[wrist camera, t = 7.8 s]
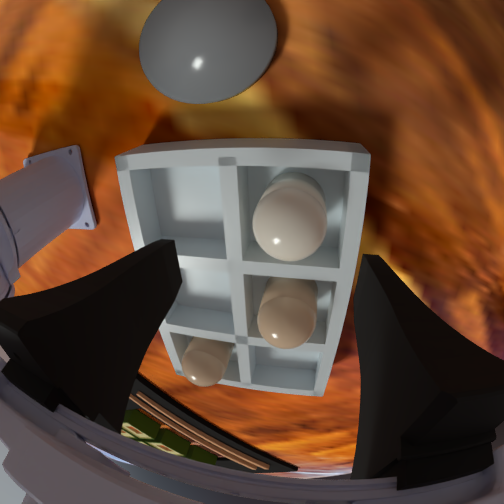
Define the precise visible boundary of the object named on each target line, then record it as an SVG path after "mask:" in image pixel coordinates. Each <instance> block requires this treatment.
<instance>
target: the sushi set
mask: <svg viewBox="0 0 504 504" xmlns="http://www.w3.org/2000/svg"><path fill="white" fill-rule="evenodd" d="M139 408H141V409H143V410H144V411H146V412H147V413H149V414H150V415H152V416H153V417H155V418H156V419H158V420H160V421H161V422H163V423H164V424H166V425H168V426H169V427H171V428H172V429H174V430H176V431H178V432H179V433H181V434H183V435H184V436H186V437H188V438H190V439H192V440H193V441H195V442H197V443H199V444H201V445H203V446H205V447H206V448H208V449H210V450H212V451H214V452H216V453H218V454H220V455H222V456H224V457H218V456H216V455H214V454H212V453H210V452H208V451H206V450H204V449H202V448H200V447H198V446H196V445H190V444H191V442H189V441H187V440H185V439H183V438H182V437H180V436H178V435H176V434H175V433H173V432H171V431H170V430H168V429H166V428H165V429H160V427H161V425H160V424H158V423H157V422H155V421H154V420H152V419H150V418H149V417H147V416H146V415H144V414H143V413H141V412H140V411H139V410H137V409H139ZM121 435H123V436H125V437H127V438H130V439H132V440H135V441H137V442H140V443H142V444H145V445H148V446H151V447H153V448H156V449H159V450H162V451H165V452H168V453H171V454H174V455H177V456H181V457H184V458H188V459H191V460H195V461H198V462H202V463H206V464H210V465H215V466H219V467H223V468H228V469H233V470H238V471H244V472H250V473H274V472H291V471H297V470H298V467H295V466H293V465H290V464H288V463H286V462H283V461H281V460H279V459H277V458H275V457H272V456H270V455H268V454H266V453H264V452H262V451H260V450H258V449H256V448H254V447H252V446H250V445H248V444H246V443H244V442H242V441H240V440H238V439H237V438H235V437H233V436H231V435H229V434H228V433H226V432H224V431H222V430H221V429H219V428H217V427H215V426H214V425H212V424H210V423H209V422H207V421H205V420H204V419H202V418H201V417H199V416H197V415H196V414H194V413H193V412H191V411H190V410H188V409H187V408H185V407H183V406H182V405H181V404H179V403H178V402H176V401H175V400H173V399H172V398H170V397H169V396H167V395H166V394H165V393H163V392H162V391H160V390H159V389H158V388H156V387H155V386H154V385H152V384H151V383H150V382H148V381H147V380H146V379H144V378H143V377H142V376H141V375H139V374H138V373H137V376H136V379H135V381H134V384H133V387H132V390H131V394H130V397H129V400H128V404H127V407H126V412H125V416H124V420H123V425H122V430H121Z"/></svg>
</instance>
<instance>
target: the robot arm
mask: <svg viewBox="0 0 504 504" xmlns="http://www.w3.org/2000/svg"><path fill="white" fill-rule="evenodd" d="M71 150H72V152H71ZM23 164H24V168H22V169H20V170H18V171H16V172H14V173H12V174H10V175H8V176H6V177H5V178H3V179H1V180H0V345H1V347H2V348H3V349H4V351H5V352H6V354H7V355H8V356H9V358H11V359H10V360H9V361H8V363H6V362H5V361H4V360H3V359H2V358H1V357H0V440H1V441H2V442H3V443H4V445H5V446H6V447H7V448H8V449H9V452H8V454H7V456H6V458H5V460H4V462H3V464H2V465H3V467H4V470H5V472H6V473H7V474H8V475H9V476H10V477H11V479H12V480H13V481H14V482H15V483H16V484H17V485H18V486H19V487H20V488H22V489H23V490H24V491H25V492H26V496H25V498H24V500H23V502H22V504H204V503H201V502H197V501H194V500H191V499H188V498H184V497H181V496H178V495H175V494H172V493H169V492H167V491H164V490H161V489H159V488H156V487H153V486H151V485H148V484H146V483H143V482H141V481H138V480H136V479H134V478H131V477H129V476H130V473H129V472H128V471H126V470H124V469H123V468H121V467H120V466H118V465H116V464H115V463H114V462H112V461H111V460H109V459H108V458H107V457H105V456H104V455H103V454H102V453H101V452H100V451H98V450H96V449H95V448H93V447H91V446H90V445H88V444H86V442H88V443H90V444H92V445H94V446H95V447H97V448H99V449H101V450H103V451H105V452H107V453H109V454H111V455H114V456H116V457H118V458H120V459H122V460H124V461H127V462H129V463H131V464H134V465H136V466H139V467H141V468H144V469H146V470H149V471H151V472H154V473H157V474H159V475H162V476H165V477H168V478H171V479H174V480H177V481H180V482H183V483H187V484H190V485H194V486H197V487H201V488H205V489H210V490H213V491H217V492H221V493H226V494H231V495H236V496H241V497H247V498H253V499H259V500H267V501H275V502H284V503H296V504H504V445H502V446H499V447H498V448H496V449H494V450H492V445H491V442H493V441H494V440H495V439H496V433H495V428H496V427H497V426H498V425H499V424H501V423H502V422H503V421H504V360H502V359H500V358H498V357H496V356H494V355H492V354H491V353H489V352H487V351H486V350H484V349H482V348H481V347H479V346H477V345H476V344H474V343H473V342H471V341H470V340H468V339H467V338H465V337H464V336H463V335H461V334H460V333H459V332H457V331H456V330H455V329H453V328H452V327H451V326H449V325H448V324H447V323H446V322H444V321H443V320H442V319H441V318H440V317H439V316H437V315H436V314H435V313H434V312H433V311H432V310H431V309H430V308H428V307H427V306H426V305H425V304H424V303H423V302H422V301H421V300H420V299H419V298H418V297H417V296H416V295H415V294H414V293H413V292H412V291H411V290H410V289H409V288H408V286H407V285H406V284H405V283H404V282H403V281H402V280H401V279H400V278H399V277H398V276H397V274H396V273H395V272H394V271H393V270H392V269H391V268H390V267H389V265H388V264H387V263H386V262H385V261H384V260H383V259H382V258H381V257H380V256H379V255H369V254H363V256H362V261H361V266H360V271H359V276H358V281H357V285H356V289H355V294H354V324H355V332H356V339H357V347H358V355H359V363H360V374H361V395H360V414H359V426H358V435H357V444H356V451H355V457H354V463H353V468H352V474H351V478H350V480H316V479H300V478H288V477H278V476H270V475H262V474H256V473H250V472H244V471H238V470H233V469H228V468H223V467H219V466H215V465H210V464H206V463H202V462H198V461H195V460H191V459H188V458H184V457H181V456H177V455H174V454H171V453H168V452H165V451H162V450H159V449H156V448H153V447H151V446H148V445H145V444H142V443H140V442H137V441H135V440H132V439H130V438H127V437H125V436H123V435H121V430H122V425H123V420H124V416H125V412H126V407H127V404H128V400H129V397H130V394H131V390H132V387H133V384H134V381H135V379H136V376H137V373H138V370H139V368H140V365H141V363H142V360H143V358H144V355H145V353H146V351H147V349H148V347H149V345H150V343H151V341H152V339H153V337H154V336H155V334H156V332H157V331H158V329H159V327H160V325H161V324H162V322H163V320H164V319H165V317H166V315H167V314H168V312H169V310H170V308H171V307H172V305H173V303H174V301H175V299H176V297H177V294H178V292H179V289H180V287H181V284H182V282H183V281H182V276H181V271H180V266H179V261H178V256H177V251H176V246H175V240H170V239H160V240H157V241H155V242H152V243H150V244H148V245H146V246H144V247H142V248H140V249H138V250H136V251H134V252H133V253H131V254H129V255H127V256H125V257H123V258H121V259H119V260H118V261H116V262H114V263H112V264H110V265H108V266H106V267H104V268H102V269H100V270H98V271H96V272H93V273H91V274H89V275H87V276H84V277H82V278H79V279H77V280H75V281H72V282H69V283H66V284H63V285H60V286H57V287H54V288H51V289H48V290H44V291H40V292H36V293H32V294H27V295H22V296H16V297H14V294H15V288H14V285H13V283H14V282H15V281H17V280H18V279H19V278H20V273H19V271H18V268H20V267H21V266H22V265H23V264H24V263H25V262H27V261H28V260H29V259H30V258H31V257H32V256H34V255H35V254H36V253H37V252H38V251H40V250H41V249H42V248H43V247H45V246H46V245H47V244H48V243H50V242H51V241H52V240H53V239H55V238H56V237H57V236H59V235H60V234H61V233H63V232H64V231H65V230H67V229H68V228H69V229H94V228H96V226H97V223H96V219H95V216H94V212H93V208H92V204H91V200H90V195H89V191H88V187H87V182H86V177H85V172H84V167H83V162H82V157H81V151H80V147H79V146H78V145H72V146H68V147H64V148H60V149H57V150H53V151H49V152H46V153H42V154H39V155H35V156H32V157H29V158H26V159H24V161H23ZM85 441H86V442H85Z"/></svg>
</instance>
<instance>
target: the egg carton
mask: <svg viewBox="0 0 504 504" xmlns="http://www.w3.org/2000/svg"><path fill="white" fill-rule="evenodd" d="M370 159H371V154H370V153H369V152H368V151H367V150H366V149H365V148H364V147H363V146H362V145H361V144H360V143H351V142H340V141H327V140H311V139H287V138H229V139H205V140H189V141H176V142H165V143H155V144H146V145H141V146H139V147H136V148H134V149H131V150H129V151H126V152H124V153H122V154H119V155H117V156H115V162H116V168H117V173H118V179H119V184H120V189H121V194H122V199H123V204H124V208H125V213H126V217H127V222H128V226H129V230H130V234H131V238H132V242H133V246H134V250H135V251H136V250H138V249H140V248H142V247H144V246H146V245H148V244H150V243H152V242H155V241H157V240H160V239H170V240H175V246H176V251H177V256H178V261H179V266H180V271H181V276H182V281H183V282H182V284H181V287H180V289H179V292H178V294H177V297H176V299H175V301H174V303H173V305H172V307H171V308H170V310H169V312H168V314H167V315H166V317H165V319H164V320H163V322H162V324H161V325H160V327H159V330H160V333H161V336H162V338H163V341H164V344H165V346H166V349H167V352H168V354H169V357H170V359H171V362H172V364H173V367H174V369H175V372H176V374H177V375H181V376H185V375H184V373H183V370H182V358H183V356H184V353H185V351H186V349H187V347H188V345H189V343H190V341H191V339H192V337H193V336H195V337H201V338H207V339H213V340H219V341H225V342H232V343H234V348H233V351H232V354H231V357H230V360H229V363H228V366H227V369H226V372H225V374H224V376H223V378H222V379H221V380H220V381H219V382H218V383H219V384H224V385H230V386H235V387H242V388H248V389H255V390H262V391H269V392H277V393H286V394H296V395H308V396H322V397H323V394H324V391H325V388H326V385H327V381H328V378H329V375H330V372H331V368H332V365H333V361H334V358H335V354H336V351H337V347H338V343H339V339H340V336H341V332H342V328H343V324H344V320H345V315H346V311H347V307H348V302H349V298H350V293H351V289H352V284H353V279H354V274H355V269H356V263H357V258H358V252H359V246H360V240H361V234H362V228H363V221H364V214H365V206H366V198H367V190H368V180H369V170H370ZM288 172H299V173H303V174H306V175H308V176H310V177H312V178H313V179H314V180H316V181H317V182H318V184H319V185H320V186H321V188H322V189H323V192H324V194H325V199H326V210H327V232H326V236H325V238H324V240H323V243H322V244H321V246H320V247H319V248H318V249H317V250H316V251H315V252H314V253H313V254H312V255H310V256H308V257H306V258H304V259H302V260H298V261H282V260H279V259H276V258H274V257H272V256H270V255H268V254H267V253H266V252H265V251H264V250H263V249H262V248H261V247H260V245H259V244H258V242H257V241H256V239H255V236H254V232H253V227H252V222H253V214H254V211H255V209H256V206H257V204H258V203H259V201H260V199H261V197H262V195H263V193H264V191H265V189H266V187H267V186H268V184H269V183H270V182H271V181H272V180H273V179H274V178H275V177H277V176H279V175H281V174H284V173H288ZM270 276H273V277H284V278H296V279H309V280H315V282H316V284H317V288H318V298H317V321H316V327H315V330H314V332H313V334H312V336H311V337H310V338H309V340H308V341H306V342H305V343H304V344H302V345H301V346H299V347H296V348H292V349H281V348H277V347H274V346H272V345H271V344H269V343H268V342H267V341H266V340H265V339H264V338H263V337H262V335H261V334H260V331H259V329H258V324H257V316H258V311H259V308H260V304H261V300H262V297H263V293H264V290H265V286H266V282H267V280H268V279H269V277H270ZM185 377H186V376H185Z"/></svg>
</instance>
